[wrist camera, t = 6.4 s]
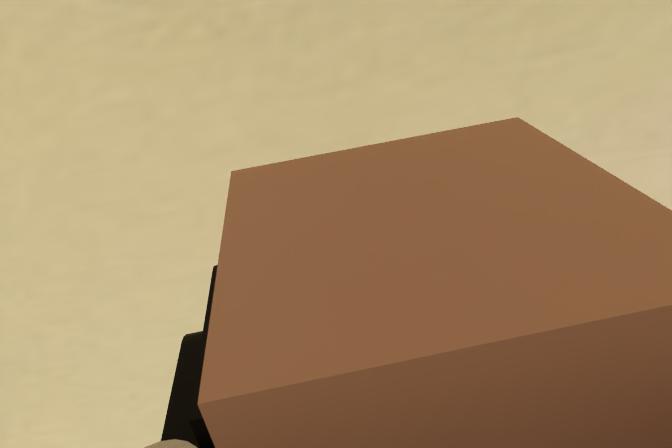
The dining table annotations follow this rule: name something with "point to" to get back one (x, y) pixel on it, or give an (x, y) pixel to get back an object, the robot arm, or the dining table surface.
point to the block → (441, 300)
